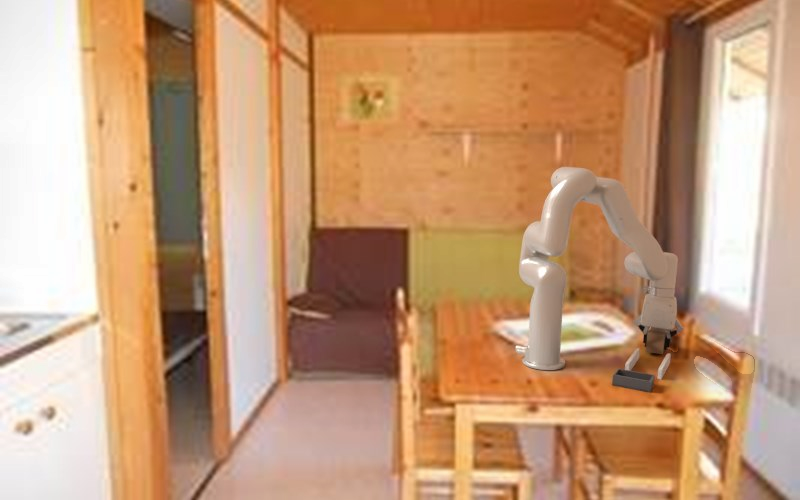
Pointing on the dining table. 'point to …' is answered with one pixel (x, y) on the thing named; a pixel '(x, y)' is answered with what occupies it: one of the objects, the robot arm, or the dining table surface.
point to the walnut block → (655, 340)
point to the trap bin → (633, 380)
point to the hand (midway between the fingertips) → (656, 347)
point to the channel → (635, 357)
